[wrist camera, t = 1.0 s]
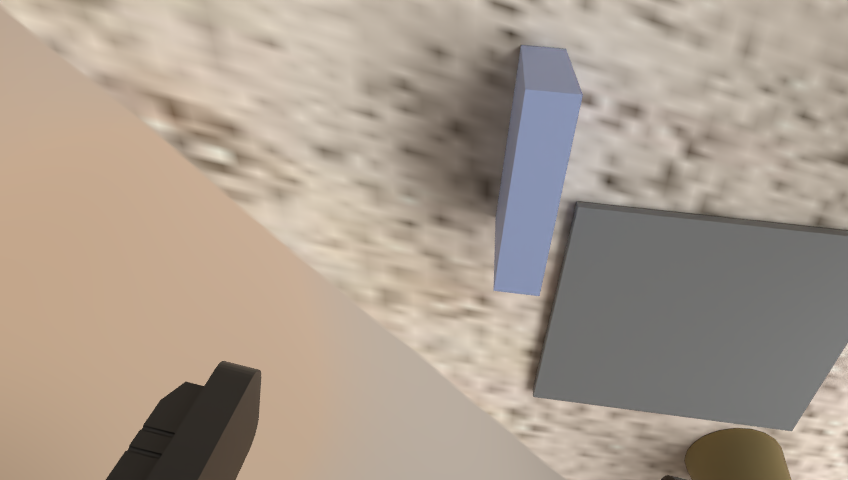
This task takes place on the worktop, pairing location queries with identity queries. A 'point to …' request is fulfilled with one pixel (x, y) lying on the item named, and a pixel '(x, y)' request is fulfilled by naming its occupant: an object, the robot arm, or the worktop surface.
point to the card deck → (534, 166)
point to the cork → (736, 457)
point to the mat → (695, 315)
